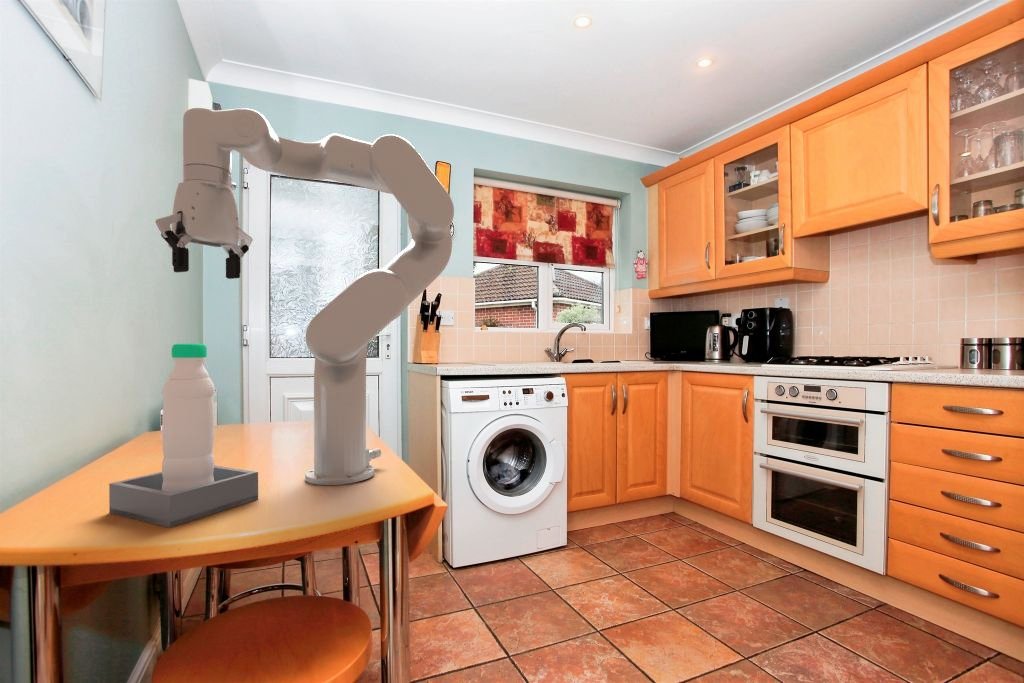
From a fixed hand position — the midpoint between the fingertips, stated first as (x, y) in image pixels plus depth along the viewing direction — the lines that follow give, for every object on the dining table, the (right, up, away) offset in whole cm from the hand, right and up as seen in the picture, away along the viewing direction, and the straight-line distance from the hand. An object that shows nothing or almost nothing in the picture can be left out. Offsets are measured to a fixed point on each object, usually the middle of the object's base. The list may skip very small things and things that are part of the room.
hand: (208, 275), depth 91 cm
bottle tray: (+4, -38, -12) cm, 40 cm away
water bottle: (+4, -38, -11) cm, 40 cm away
